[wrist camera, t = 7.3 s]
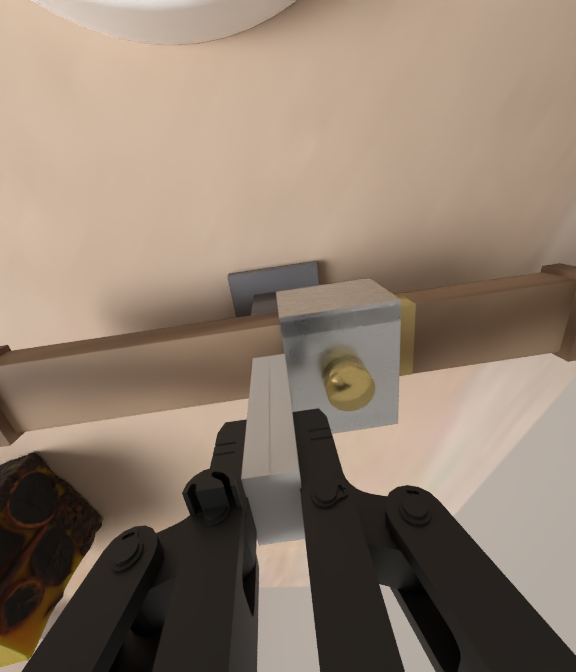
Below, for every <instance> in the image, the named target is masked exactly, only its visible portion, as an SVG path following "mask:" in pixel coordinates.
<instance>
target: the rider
mask: <svg viewBox="0 0 576 672" xmlns="http://www.w3.org/2000/svg"><path fill="white" fill-rule="evenodd" d="M276 296H277V305H278V314H279V322H280V328H281V335H282V341H283V348H284V354H285V360H286V366H287V373H288V380H289V386H290V393H291V399H292V406H293V412H296V411H303V410H309V409H316V408H319V409H320V410H321V411H322V412H323V413H324V414H325V415H326V416H327V419H328V422H329V426H330V429H331V433H332V434H333V433H340V432H346V431H353V430H360V429H366V428H373V427H380V426H386V425H393V424H398V403H399V366H400V329H401V299H399V298H398V297H396V296H395V295H394V294H392V293H391V292H389V291H388V290H386V289H385V288H383V287H382V286H380V285H379V284H378V283H376V282H375V281H373V280H372V279H370V278H366V279H360V280H353V281H346V282H339V283H332V284H326V285H319V286H312V287H305V288H298V289H292V290H285V291H278V292H276Z"/></svg>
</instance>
